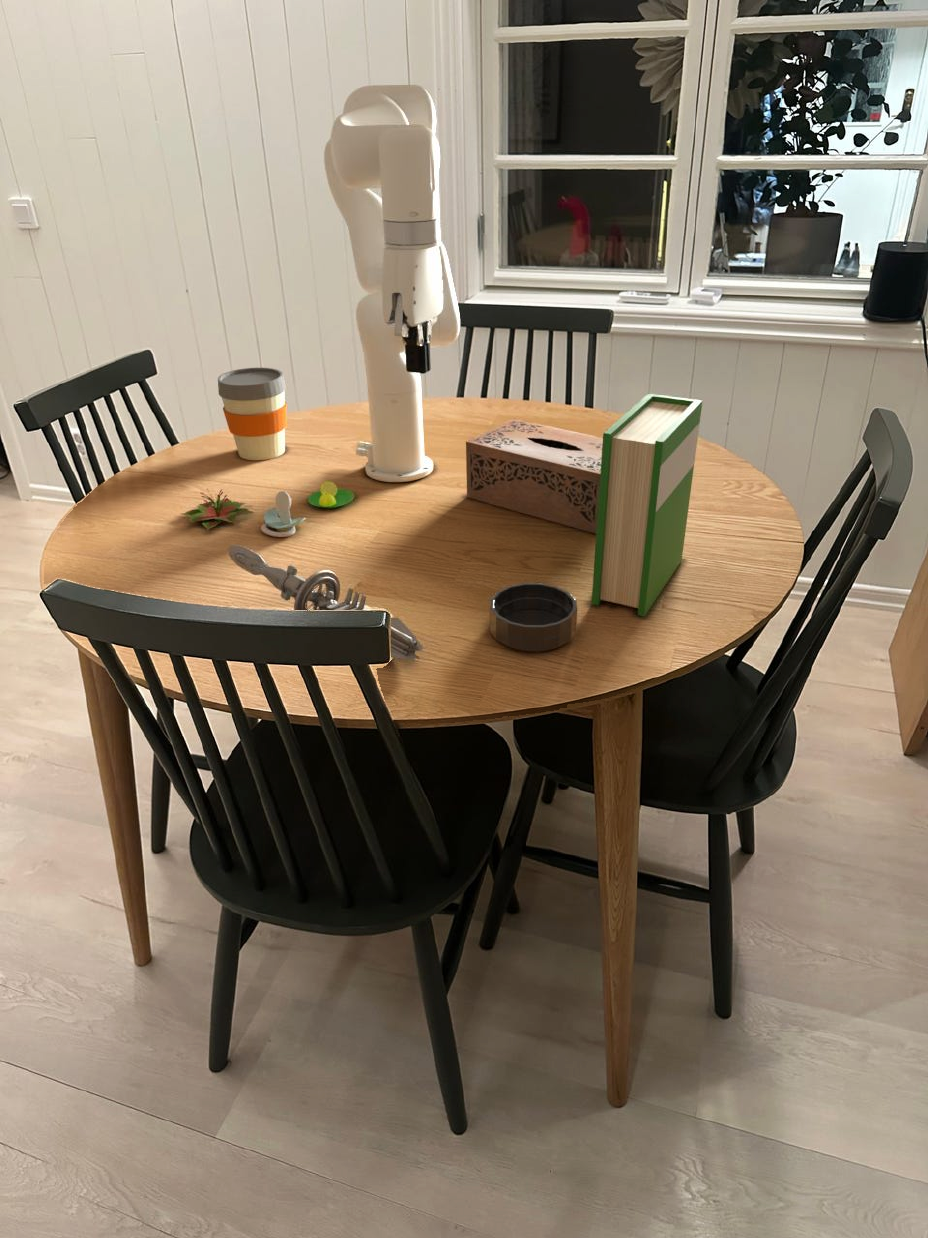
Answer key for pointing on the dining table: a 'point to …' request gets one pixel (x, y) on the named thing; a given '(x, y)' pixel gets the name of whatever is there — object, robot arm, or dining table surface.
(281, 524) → the pacifier
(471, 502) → the dining table surface
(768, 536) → the dining table surface
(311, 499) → the green plate with lemon
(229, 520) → the lily flower
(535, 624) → the ashtray
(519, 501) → the tissue box cover
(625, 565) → the hardback book
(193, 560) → the dining table surface
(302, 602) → the spaceship
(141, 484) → the dining table surface
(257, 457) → the reusable coffee cup
